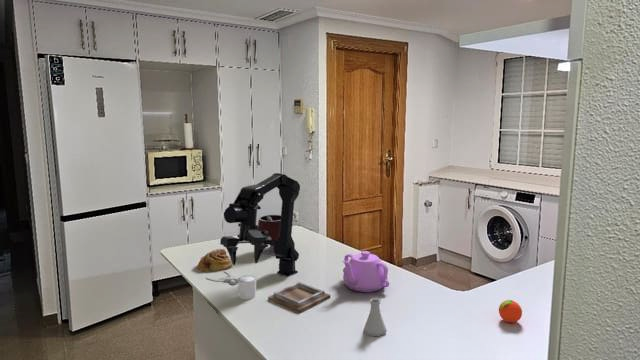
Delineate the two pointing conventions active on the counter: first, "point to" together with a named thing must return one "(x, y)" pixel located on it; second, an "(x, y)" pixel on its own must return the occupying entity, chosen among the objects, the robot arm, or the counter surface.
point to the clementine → (510, 311)
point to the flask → (375, 320)
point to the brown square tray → (299, 297)
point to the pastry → (215, 261)
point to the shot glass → (247, 287)
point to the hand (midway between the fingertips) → (245, 264)
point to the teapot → (365, 272)
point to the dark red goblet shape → (270, 230)
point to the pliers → (230, 279)
